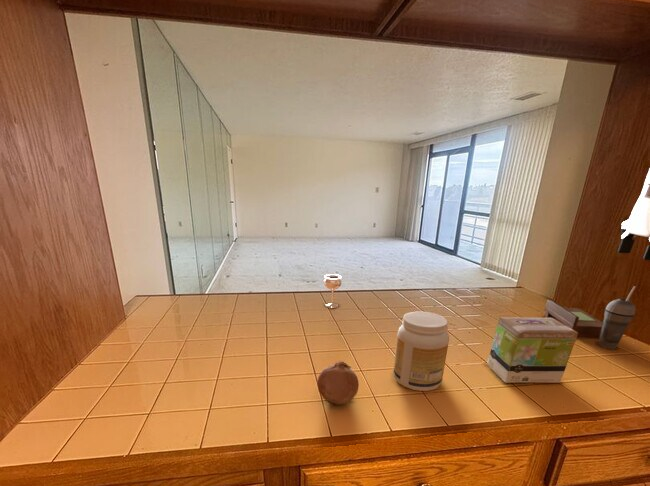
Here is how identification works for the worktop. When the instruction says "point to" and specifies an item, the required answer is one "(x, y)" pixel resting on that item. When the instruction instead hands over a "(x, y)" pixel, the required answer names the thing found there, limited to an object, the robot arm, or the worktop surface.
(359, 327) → the worktop surface
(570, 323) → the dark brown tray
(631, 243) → the robot arm
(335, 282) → the wineglass
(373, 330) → the worktop surface
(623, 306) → the beverage cup
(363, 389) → the worktop surface
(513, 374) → the tea box
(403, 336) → the supplement tub
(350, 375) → the onion
